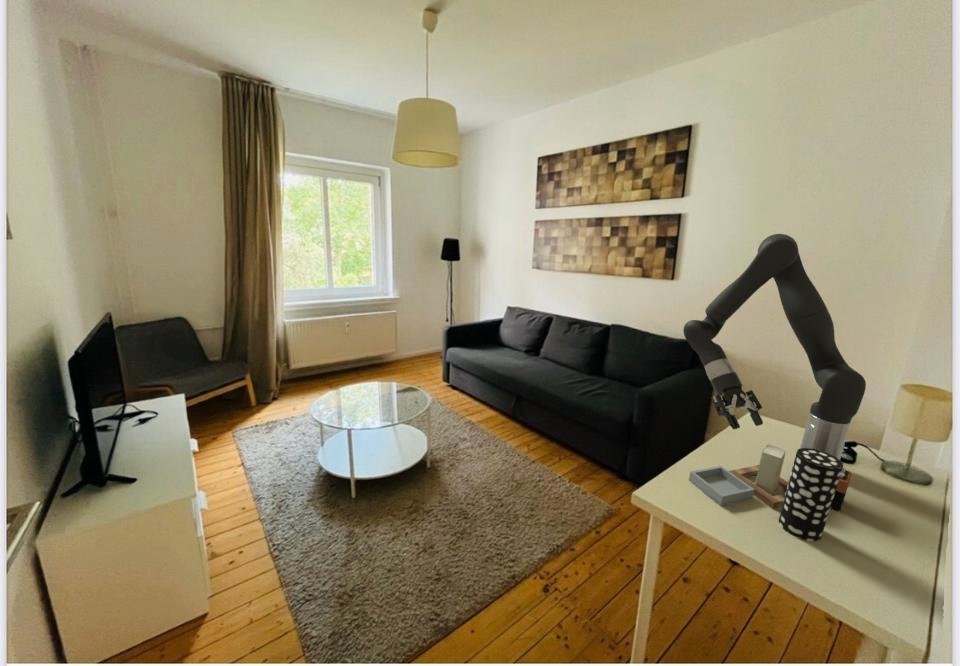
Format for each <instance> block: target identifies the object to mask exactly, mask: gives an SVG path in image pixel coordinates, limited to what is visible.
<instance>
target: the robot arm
mask: <svg viewBox="0 0 960 666" xmlns="http://www.w3.org/2000/svg"><path fill="white" fill-rule="evenodd" d="M771 279H773V280H774V282H775V284H776V288H777V291H778V294H779V299H780V302H781V306H782V309H783V312H784V314H785V318H786V319H787V321H788V323H789V325H790V328H791V330H792V331H793V333H794V335H795V337H796V338H797V340H798V342H799V343H800V345H801V347H802V348H803V350H804V351H805V353H806V355H807V358H808V361H809V363H810V364H809V365H810V367H811V371H812V374H813V377H814V381H815V383H816V385H818V386H819V388H820V389H822V390H821V393H820V395H819V398H818V401H816V402H813V403H812V404H811V405H810V410H809V414H808V417H807V421H806V425H805V429H804V431H803V436H802V439H801V444H800V447H799V449H800V448H811V449H817V450H820V451H823V452H826V453H829V454H831V455H833V456H835V457H836V458H838V459H839V460H840V461H841V457H842V455H843V451H844V449H845V444H846V443H845V442H846V439H847V435H848V433H849V430H850V429H849V428H850V424H851V422H852V419H853V418H854V417H855V416H856V414H857V413H858V411H859V409H860V406H861V404H862V401H863V398H864V395H865V392H866V390H867V389H866V387H867V385H866V382H867V381H866V380H865V377H864V376H863V375H862V374H861V373H859V372H858V371H856V370H855V369H854V368H852V367H851V366H849V364H848V363H847V361H846V360H845V358H844V357H843V355H842V353H841V351H840V350H839V348H838V346H837V344H836V337H835V326H834V321H833V319H832V317H831V314H830V312H829V310H828V308H827V306H826V304H825V302H824V300H823V298H822V296H821V294H820V293H819V292H818V289H817V288H816V286H815V284H813V282H812V280H811V279H810V277H809V276H808V274H807V272H806V269H805V268H804V265H803V262H802V258H801V256H800V253H799V247H798V244H797V241H796V240H795V239H794V238H793V237H791V236H790V235H787V234H785V233H775V234H771V235H769V236H767V237H766V238H765V239H763V240H762V241H761V242H760V244H759V246H758V248H757V254H756V255H755V256H754V258H753V259H752V261H751V262H750V264H749V265H748V266H747V267H746V269H745V270H744V271H743V273H742V274H740V276H739V277H737V278H736V279H735V280H734V281H733V282H731V284H729V285H728V286H727V287H726V288H724V289H723V290H722V291H721V292H720V293H719V294H718V295H717V296H716V297H715V298H714V299H713V300H712V301H711V303H709V305H708V306H707V307H706V309H705V310H704V311H705V317H704V319H702V320H699V319H690V320H689V321H687V322H686V323H685V324H684V326H683V329H682V330H683V335H684V338H685V340H686V341H687V343H688V345H690V347H691V348H692V350H693V351H695V353H696V354H697V355H698V356H699V359H700V361H701V363H702V365H703V367H704V369H705V373H706V376H707V378H708V379H709V381H710V383H711V386H712V387H713V390H714V392H715V393H716V395H713V396H712V397H710V399H711V401H712V403H713V406H714V408H715V411H716V413H717V415H718V416H719V417H721V416H722V417H724V418H726V421H728V424H729V427H731V429H732V430H737V429H741V425H740V424H739V421H738V419H737V418H736V415H735V414H734V412H735V411H734V410H735V409H736V408H737V409H739V408H740V409H742V410H745V411H746V412H748V414H749V416H750V417H751V418H750V419H751V420H752V421H753V422H752V423H754V425H755V426H756V427H758V426H762V425H763V424H764V422H763V421H764V420H763V419H762V417H761V415H760V414H759V411H760V410H761V409H763V406H762V403H760V401H759V399H758V398H757V396H756V394H755V393H754V391H753V390H752V389H750V390H749V391H744V390H743V389H742V388H743V383H742V381H741V379H740V378H739V375H738V374H737V371H736V369H735V368H734V366H733V364H732V363H731V362H730V361H729V358H728V357H727V354H726V353H725V351H724V349H723V348H722V346H721V345H720V344H717V343H716V342H714V341H713V339H714V338H716V337H717V335H718V334H719V333H720V331H721V330H722V329H723V327H724V326H725V324H726V323H727V320H729V319H730V318H731V317H732V316H733V315H734V314H736V312H737V311H738V310H739V309H740V308H741V307H742V306H743V305H744V304H745V303H746V302H747V301H748V300H749V299H750V298H751V297H752V296H753V295H754V294H755V293H756V292H757V291H759V289H760V288H762V287H763V286H764V285H765V284H766V283H767V282H769V281H770V280H771Z"/></svg>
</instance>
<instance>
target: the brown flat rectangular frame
mask: <svg viewBox="0 0 960 666" xmlns="http://www.w3.org/2000/svg"><path fill="white" fill-rule="evenodd" d="M758 469H759V464H756V465H752V466H751V465H750V466H747V467H746V466H745V467H742V468H736V469H732V470H731V469H730V470H728V471H729V472H730V473H732V474H733V475H735V476H736V477H738V478H739V479H741V480H742V481H743V482H745V483H746V484H748V485H749V486H751V487H752V488H753V489H755V491H754V495H753V497H755V498H756V499H758V500H760V501H761V502H762V503H763V504H765V505H766V506H768V507H769V508H770V509H771V510H775V509H778V508H779V509H780V508H782V505H783V501H784V498H785V494H786V490H787V486H788V483H789V481H787V480H785V479H783V478H782V477H781V476H780V478H779V482H778V486H777V489H778V488H779V489H780V490H782V491H783V492H784V493H782V494H779V495H778V494H777V495H770V494H769V493H767V492H766V491H764V490H763V489H761V488H760V487H758V486H757V485H755V483H754V482H752V480H749V479H748V478H755V477H757V474H758Z"/></svg>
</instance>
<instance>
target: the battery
mask: <svg viewBox="0 0 960 666" xmlns="http://www.w3.org/2000/svg"><path fill="white" fill-rule="evenodd" d="M852 475H853V473H852V472H851V471H849V470H846V468H845V467H843V469H842V472H841V475H840V478H839V482H838V485H837V488H836V491H835V495H834V498H833V501H832V504H831V508H830V509H832V510H834V511H837V512H840V511H841V510H842V507H843V504H844V501H845V498H846V494H847V491H848V488H849V485H850V481H851V478H852Z"/></svg>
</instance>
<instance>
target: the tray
mask: <svg viewBox="0 0 960 666" xmlns="http://www.w3.org/2000/svg"><path fill="white" fill-rule="evenodd" d="M729 471H730V470H728V469H727V468H725V467H723V466H722V465H718V466H713V467H707V468H702V469H697V470H692V471H689V478H688V481H689V482H690V483H691V484H693V485H694V486H695V487H696V488H698V489H699V490H700V491H701V492H702V493H704V495H706V496H707V497H709V498H710V500H711V499H712V501H714V503H716V504H717V505H718V506H720V507H723V506H726V505H730V504H736V503H739V502H744V501H750V500H753V499H754V491H755V489H753V488H752V487H751V486H749V485H748V484H746V483H745V482H743V481H742V480H741V479H739V478H738V477H736V476H735V475H733V474H732V473H730V472H729Z"/></svg>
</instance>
